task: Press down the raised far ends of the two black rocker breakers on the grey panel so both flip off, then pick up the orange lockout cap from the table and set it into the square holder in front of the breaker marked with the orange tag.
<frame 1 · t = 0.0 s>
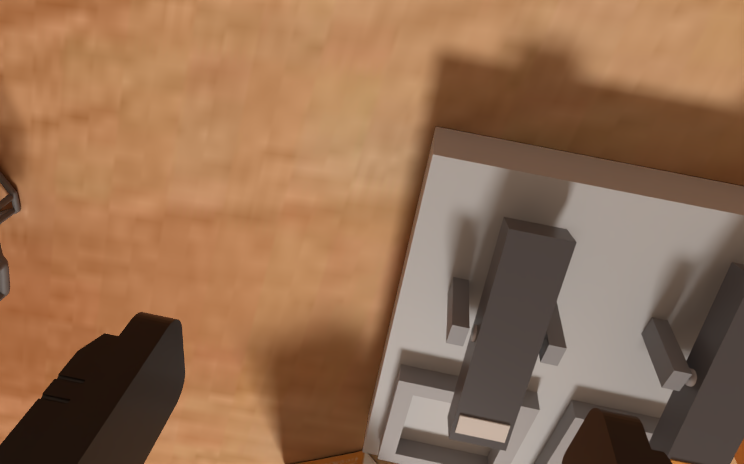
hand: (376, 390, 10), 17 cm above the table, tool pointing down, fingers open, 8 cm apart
breaker A: (504, 339, 24), point 6 cm above the table, hinge at -15.0°
breaker panel: (558, 334, 32), on the table
breaker B: (722, 384, 24), point 6 cm above the table, hinge at -15.0°
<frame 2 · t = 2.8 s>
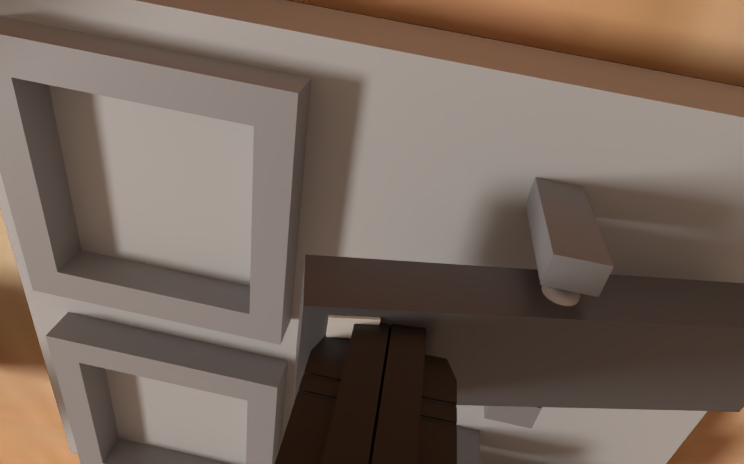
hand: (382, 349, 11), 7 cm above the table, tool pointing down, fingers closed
breaker A: (539, 340, 12), point 6 cm above the table, hinge at -13.6°, touching gripper
breaker panel: (362, 296, 20), on the table
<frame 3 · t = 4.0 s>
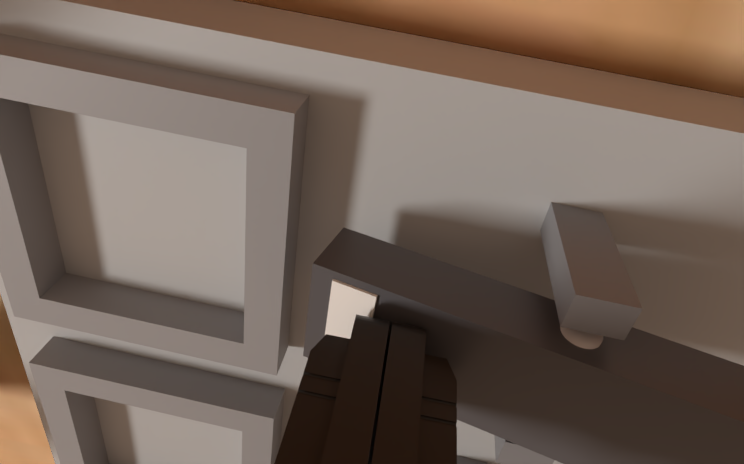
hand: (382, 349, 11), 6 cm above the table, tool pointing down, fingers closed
breaker A: (556, 382, 11), point 6 cm above the table, hinge at 12.5°, touching gripper
breaker panel: (363, 318, 19), on the table
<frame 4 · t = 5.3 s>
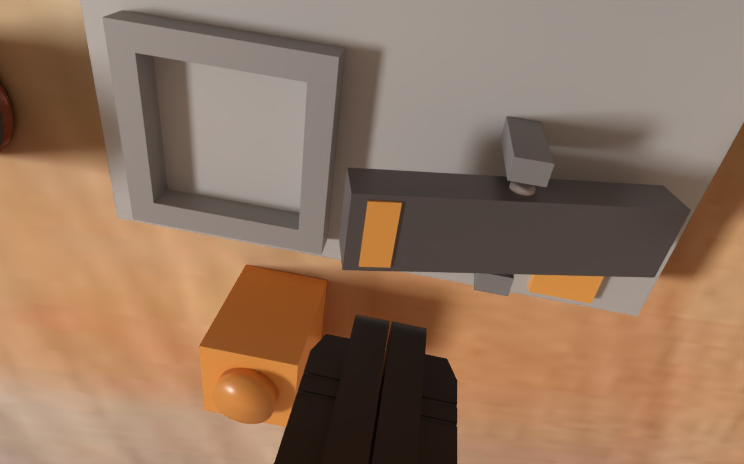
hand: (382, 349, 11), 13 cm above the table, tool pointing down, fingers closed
breaker panel: (414, 9, 20), on the table
breaker B: (510, 226, 17), point 6 cm above the table, hinge at -15.0°
lockout cap: (285, 303, 29), on the table
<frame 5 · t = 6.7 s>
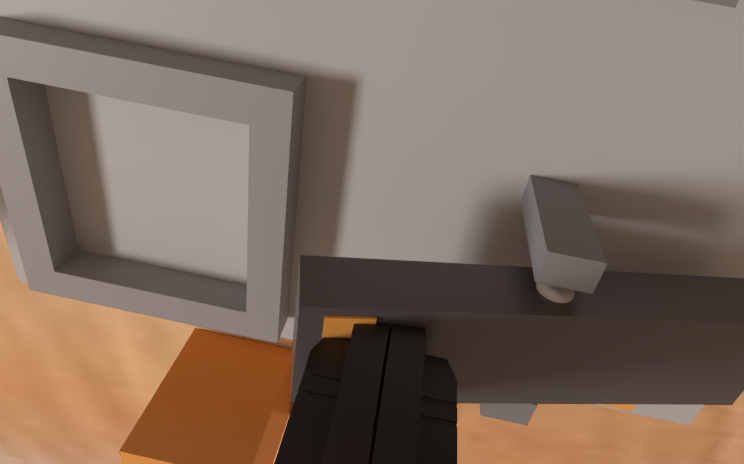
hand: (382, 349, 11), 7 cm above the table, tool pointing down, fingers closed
breaker panel: (406, 22, 15), on the table
breaker B: (534, 337, 12), point 6 cm above the table, hinge at -14.4°, touching gripper
lockout cap: (244, 373, 24), on the table
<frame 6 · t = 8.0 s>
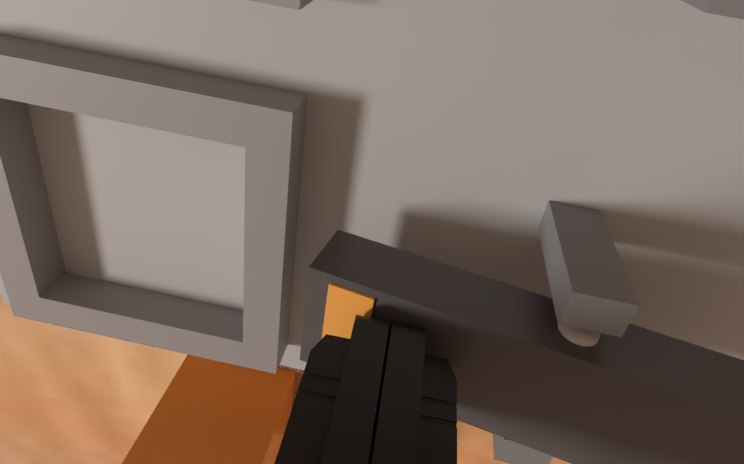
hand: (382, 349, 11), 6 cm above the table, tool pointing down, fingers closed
breaker panel: (414, 34, 14), on the table
breaker B: (554, 379, 11), point 6 cm above the table, hinge at 10.6°, touching gripper
lockout cap: (242, 394, 23), on the table
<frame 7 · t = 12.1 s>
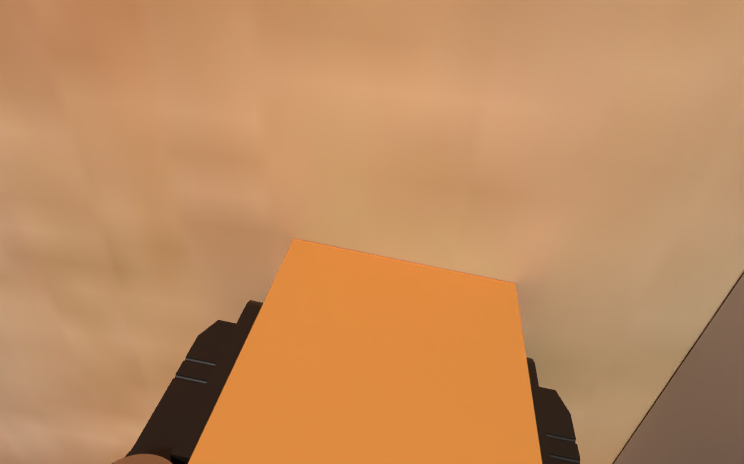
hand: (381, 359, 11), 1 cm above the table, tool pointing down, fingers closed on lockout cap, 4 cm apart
lockout cap: (385, 340, 12), on the table, touching gripper
when the fingers open (5 cm above the table, at t = 16.6 s): lockout cap drops 1 cm, resting on breaker panel.
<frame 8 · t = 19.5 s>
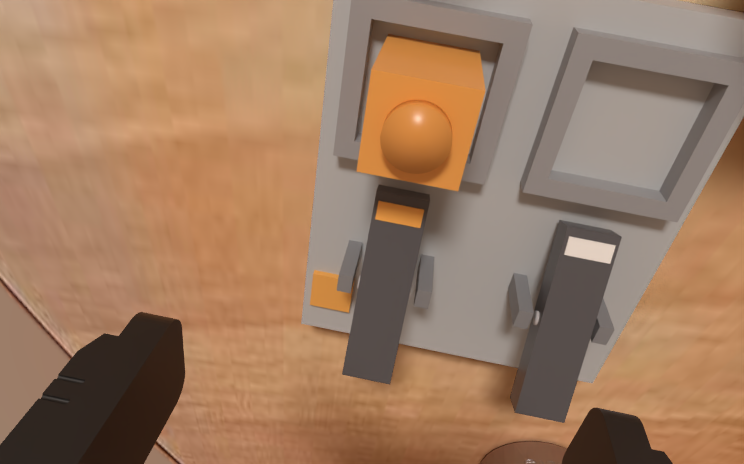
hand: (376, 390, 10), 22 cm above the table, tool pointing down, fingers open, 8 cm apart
breaker A: (562, 323, 29), point 6 cm above the table, hinge at 19.6°
breaker panel: (488, 184, 32), on the table
breaker B: (384, 287, 30), point 6 cm above the table, hinge at 16.5°
lockout cap: (424, 87, 26), point 3 cm above the table, touching breaker panel
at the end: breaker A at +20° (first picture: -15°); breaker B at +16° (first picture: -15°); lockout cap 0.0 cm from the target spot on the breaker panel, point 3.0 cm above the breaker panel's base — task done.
